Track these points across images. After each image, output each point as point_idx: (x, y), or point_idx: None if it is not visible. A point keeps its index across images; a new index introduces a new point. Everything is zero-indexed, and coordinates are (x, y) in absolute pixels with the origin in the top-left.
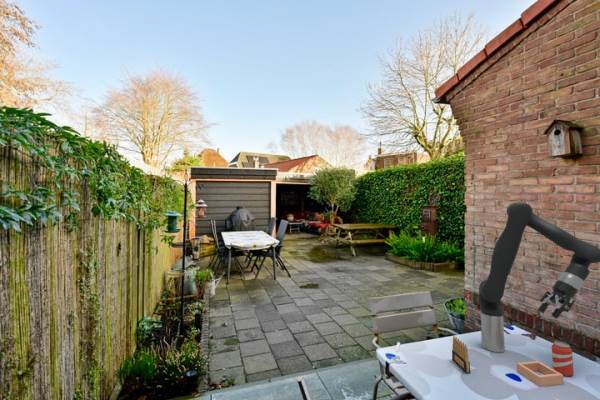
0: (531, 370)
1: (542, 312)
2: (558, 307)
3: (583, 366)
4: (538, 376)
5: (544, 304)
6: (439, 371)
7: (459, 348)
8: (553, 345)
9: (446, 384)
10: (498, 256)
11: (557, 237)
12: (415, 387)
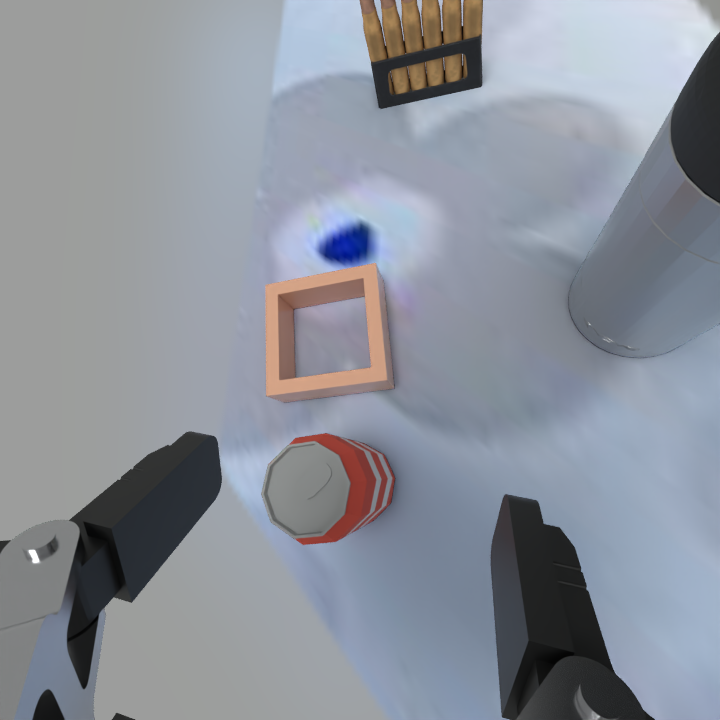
0: (313, 287)
1: (492, 542)
2: (25, 539)
3: (411, 671)
4: (271, 285)
5: (536, 680)
6: None
7: (422, 7)
8: (330, 443)
9: (325, 28)
10: None
11: None
12: None
